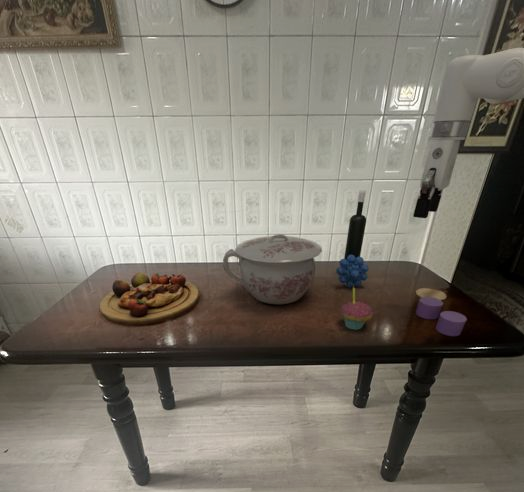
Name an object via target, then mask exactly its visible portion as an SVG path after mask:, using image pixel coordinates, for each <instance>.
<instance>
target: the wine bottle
mask: <svg viewBox="0 0 524 492" xmlns="http://www.w3.org/2000/svg"><path fill="white" fill-rule="evenodd" d="M366 191H367V190H365V189H363V190H362V189H361V190H359V192H358V197H357V207H356V212H355V214H353V215H352V216H350V218H349V223H348V229H347V236H346V244H345V251H344V258H343V259H346V260H347V257H348V256H349V255H354V256H355V258H357V257H361V253H362V249H363V248H362V247H363V242H364V236H365V230H366V225H367V217H366V216H365V215H364V214H363V210H364V203H365V200H366V193H367V192H366Z"/></svg>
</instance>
